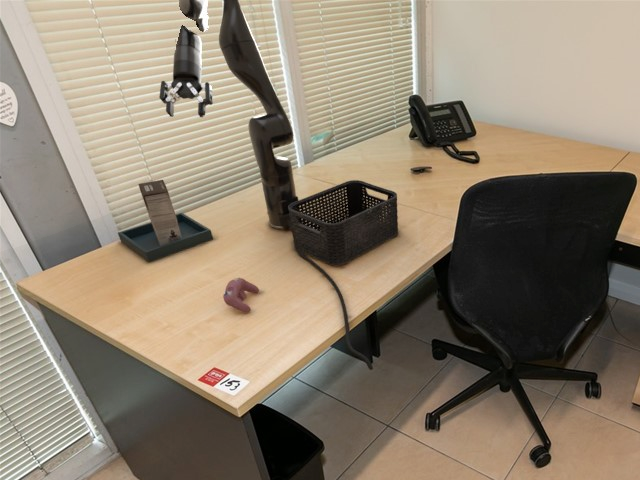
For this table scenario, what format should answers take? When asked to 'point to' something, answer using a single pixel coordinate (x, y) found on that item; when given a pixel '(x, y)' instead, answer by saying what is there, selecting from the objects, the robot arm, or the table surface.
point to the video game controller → (238, 294)
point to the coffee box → (160, 211)
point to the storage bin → (343, 222)
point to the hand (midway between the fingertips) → (185, 115)
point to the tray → (150, 249)
